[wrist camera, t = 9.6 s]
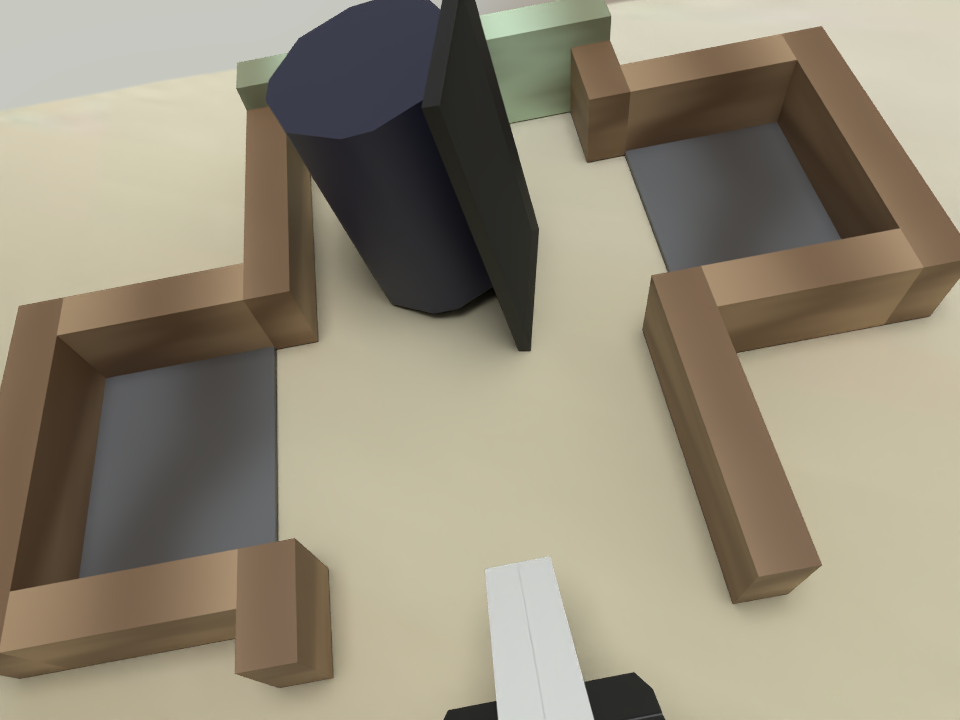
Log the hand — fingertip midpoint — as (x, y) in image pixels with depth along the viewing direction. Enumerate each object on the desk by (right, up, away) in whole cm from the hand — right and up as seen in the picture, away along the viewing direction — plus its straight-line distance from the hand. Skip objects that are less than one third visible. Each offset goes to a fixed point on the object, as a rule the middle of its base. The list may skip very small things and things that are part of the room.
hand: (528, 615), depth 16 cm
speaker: (-3, +9, +10) cm, 14 cm away
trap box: (-1, +7, +8) cm, 11 cm away
